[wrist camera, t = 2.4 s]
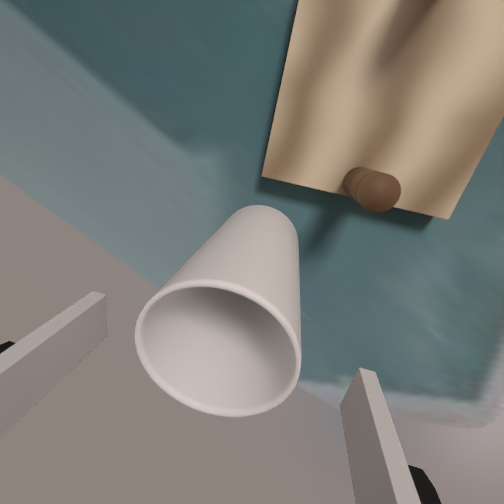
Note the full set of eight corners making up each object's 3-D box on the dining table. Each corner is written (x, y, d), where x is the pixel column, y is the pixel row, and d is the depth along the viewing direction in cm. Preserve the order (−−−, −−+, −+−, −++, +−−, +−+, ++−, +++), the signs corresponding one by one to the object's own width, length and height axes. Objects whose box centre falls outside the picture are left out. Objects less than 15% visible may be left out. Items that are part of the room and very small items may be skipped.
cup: (288, 286, 28) (279, 435, 13) (216, 269, 29) (134, 393, 14) (307, 214, 25) (324, 308, 10) (226, 197, 25) (132, 262, 11)
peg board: (264, 174, 24) (250, 185, 17) (314, -60, 18) (327, -208, 10) (436, 214, 23) (501, 244, 16) (555, -20, 17) (759, -153, 9)
